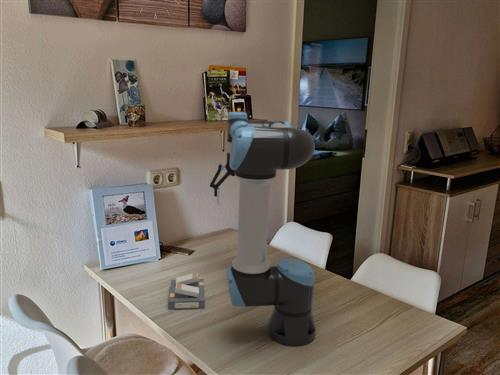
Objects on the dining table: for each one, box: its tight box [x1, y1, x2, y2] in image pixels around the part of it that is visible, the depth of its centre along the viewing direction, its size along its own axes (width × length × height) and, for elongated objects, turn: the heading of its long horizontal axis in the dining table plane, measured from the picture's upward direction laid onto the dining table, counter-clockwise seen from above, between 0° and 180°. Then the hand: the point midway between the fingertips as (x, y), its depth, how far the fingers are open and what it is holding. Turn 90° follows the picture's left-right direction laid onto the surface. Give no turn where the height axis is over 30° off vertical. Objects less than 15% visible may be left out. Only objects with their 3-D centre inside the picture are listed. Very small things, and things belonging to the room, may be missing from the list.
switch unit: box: [168, 278, 206, 311], centre depth 157 cm, size 16×12×4 cm
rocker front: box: [175, 283, 199, 297], centre depth 153 cm, size 4×8×2 cm, turn 97°
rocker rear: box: [175, 271, 200, 285], centre depth 161 cm, size 4×8×2 cm, turn 97°
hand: (235, 204), depth 177 cm, fingers open, 13 cm apart
